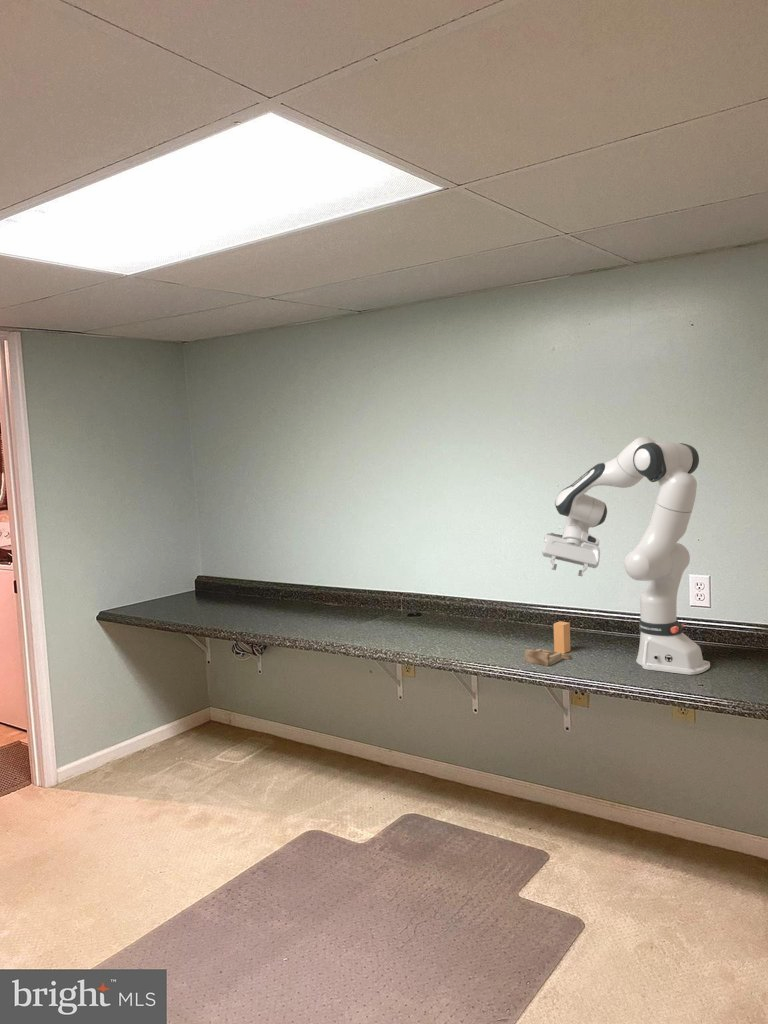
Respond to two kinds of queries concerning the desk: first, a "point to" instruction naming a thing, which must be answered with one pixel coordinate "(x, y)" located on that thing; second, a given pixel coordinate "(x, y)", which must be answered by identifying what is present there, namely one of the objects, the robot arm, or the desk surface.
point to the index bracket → (541, 657)
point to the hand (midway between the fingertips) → (567, 572)
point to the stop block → (562, 637)
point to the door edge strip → (564, 656)
